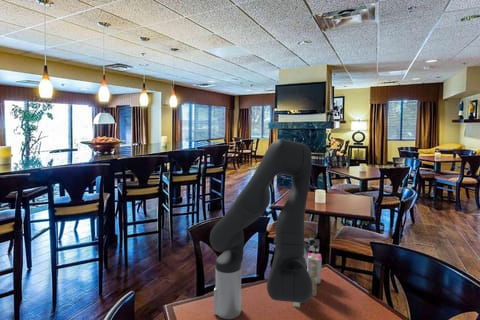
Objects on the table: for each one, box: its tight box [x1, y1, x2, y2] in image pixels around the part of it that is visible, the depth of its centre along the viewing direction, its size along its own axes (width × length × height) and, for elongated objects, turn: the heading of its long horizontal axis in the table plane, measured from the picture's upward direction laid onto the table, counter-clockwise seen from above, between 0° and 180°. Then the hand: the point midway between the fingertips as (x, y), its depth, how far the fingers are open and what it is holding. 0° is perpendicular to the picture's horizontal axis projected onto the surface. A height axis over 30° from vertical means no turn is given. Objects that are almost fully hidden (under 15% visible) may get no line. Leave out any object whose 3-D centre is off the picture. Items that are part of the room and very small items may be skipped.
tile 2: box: [311, 252, 319, 297], centre depth 123 cm, size 2×6×15 cm, turn 166°
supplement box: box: [306, 252, 323, 285], centre depth 132 cm, size 6×6×12 cm
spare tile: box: [292, 302, 301, 308], centre depth 116 cm, size 2×6×15 cm, turn 166°
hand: (297, 235), depth 103 cm, fingers open, 8 cm apart
